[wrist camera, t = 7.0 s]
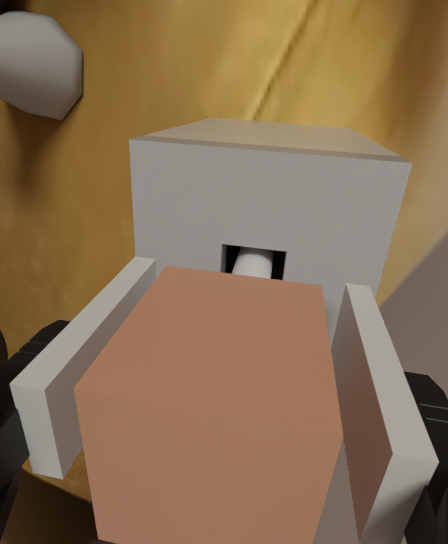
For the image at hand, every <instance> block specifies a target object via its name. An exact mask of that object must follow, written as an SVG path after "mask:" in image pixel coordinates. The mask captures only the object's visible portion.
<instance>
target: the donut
mask: <svg viewBox="0 0 448 544" xmlns="http://www.w3.org/2000/svg"><path fill="white" fill-rule="evenodd" d="M9 1H10V0H0V12H2V11H3V10H4V9H5V7H6V6H7V4H8V3H9Z"/></svg>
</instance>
